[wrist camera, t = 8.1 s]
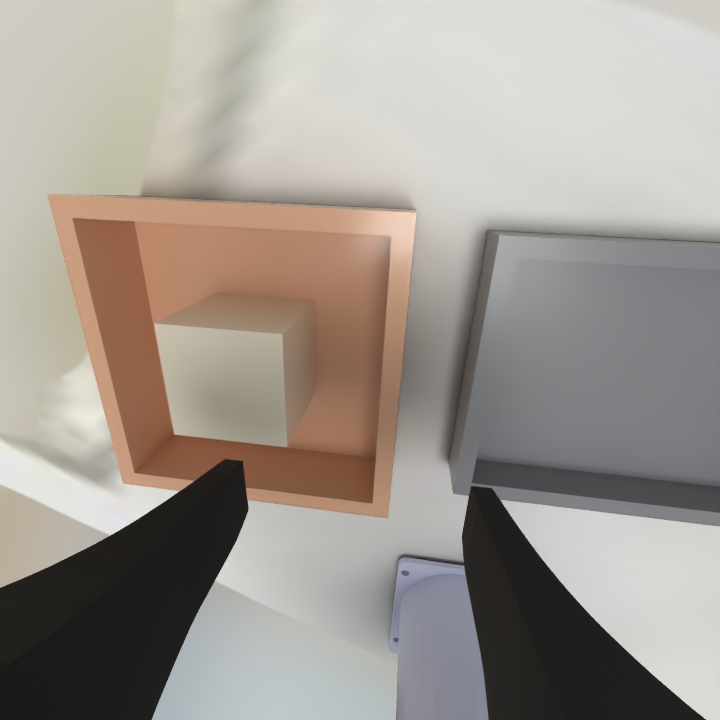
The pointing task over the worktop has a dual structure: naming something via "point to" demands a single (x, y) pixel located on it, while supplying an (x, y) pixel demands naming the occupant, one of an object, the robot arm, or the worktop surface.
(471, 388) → the tray
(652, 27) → the worktop surface
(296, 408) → the stone block
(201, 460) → the bin
